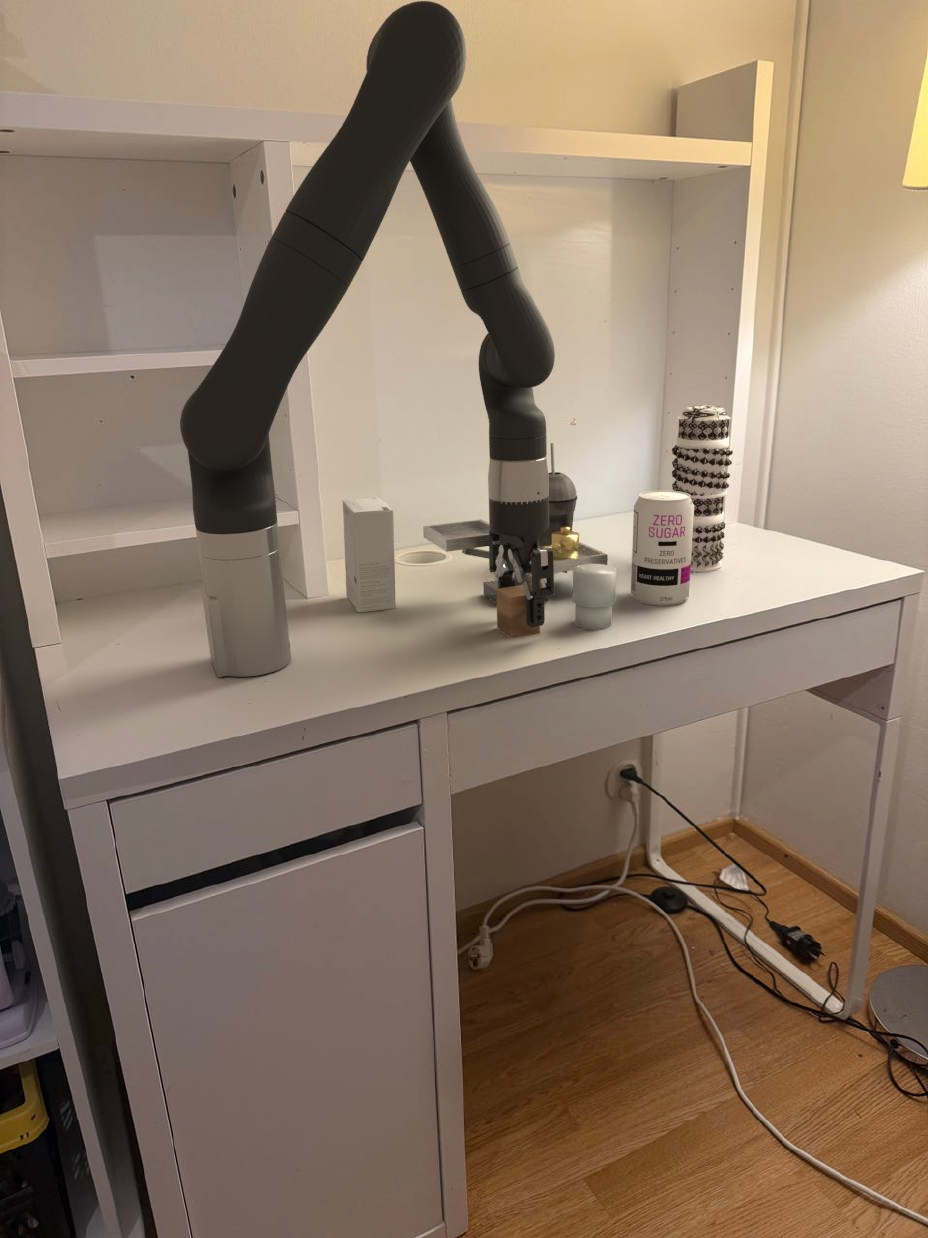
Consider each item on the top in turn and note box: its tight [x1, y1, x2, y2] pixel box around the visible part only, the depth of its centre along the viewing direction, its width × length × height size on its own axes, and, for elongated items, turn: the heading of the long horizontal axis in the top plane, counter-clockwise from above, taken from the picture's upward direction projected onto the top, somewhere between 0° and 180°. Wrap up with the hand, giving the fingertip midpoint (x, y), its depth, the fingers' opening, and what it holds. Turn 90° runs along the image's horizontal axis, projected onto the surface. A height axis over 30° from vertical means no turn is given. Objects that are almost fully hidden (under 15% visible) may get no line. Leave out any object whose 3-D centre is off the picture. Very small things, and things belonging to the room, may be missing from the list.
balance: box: [422, 518, 609, 605], centre depth 127 cm, size 25×9×11 cm, turn 112°
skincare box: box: [342, 497, 397, 613], centre depth 126 cm, size 8×6×15 cm
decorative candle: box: [671, 405, 734, 573], centre depth 138 cm, size 9×9×25 cm
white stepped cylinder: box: [572, 564, 617, 631], centre depth 116 cm, size 6×6×8 cm
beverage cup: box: [539, 442, 578, 546], centre depth 140 cm, size 7×7×20 cm
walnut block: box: [496, 585, 541, 639], centre depth 115 cm, size 4×4×6 cm
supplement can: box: [630, 489, 694, 607], centre depth 124 cm, size 8×8×15 cm
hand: (520, 616), depth 115 cm, fingers open, 8 cm apart
